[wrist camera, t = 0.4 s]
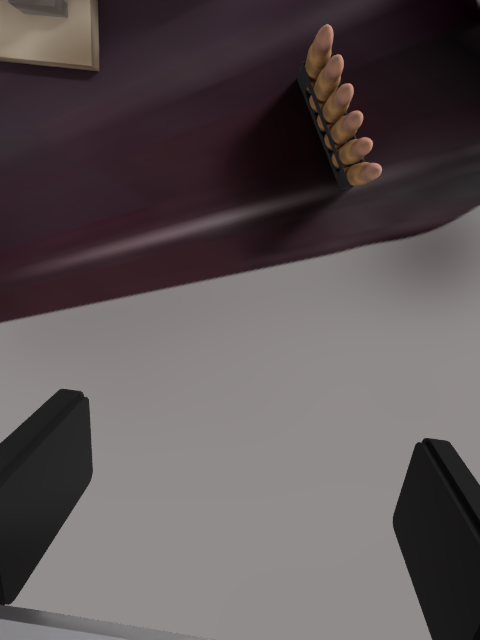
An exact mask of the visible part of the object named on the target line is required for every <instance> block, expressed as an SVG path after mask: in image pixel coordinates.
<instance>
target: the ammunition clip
mask: <svg viewBox="0 0 480 640" xmlns="http://www.w3.org/2000/svg"><path fill="white" fill-rule="evenodd" d="M332 42H333V30H332V27H331V26H330V25H328V24H327V25H324V26H323V27H322V28H321V29H320V30H319V32H318V33H317V35H316V37H315V40H314V42H313V44H312V45H311V47H310V49H309V52H308V56H307V60H306V62H305V61H303V62H302V64H301V67H300V71H299V75H298V79H297V80H298V83H299V86H300V88H301V91H302V93H303V96H304V99H305V101H306V104H307V106H308V109H309V111H310V114H311V117H312V119H313V122H314V124H315V127H316V129H317V132H318V134H319V137H320V140H321V142H322V145H323V147H324V150H325V152H326V155H327V157H328V160H329V163H330V165H331V168H332V170H333V173H334V175H335V178H336V180H337V183H338V186H339V188H340V190H341V191H342V190H345V189H348V188H351V187H353V186H356V185H364V184H367V183H369V182H370V181H372V180H374V179H376V178H377V177H379V176H380V174H381V172H382V168H381V166H380V165H379V164H377V163H368V162H365V161H364V158H363V157H364V156H365V155H366V154H368V153H369V152H370V150H371V149H372V146H373V142H372V140H371V139H369V138H360V139H356V136H355V133H356V132H357V129H358V128H359V127H360V125H361V124H362V121H363V114H362V113H361V112H360V111H353V112H351V113H349V114H347V109H348V107H349V103H350V101H351V99H352V96H353V86H352V85H351V84H344V85H342V86H341V87H339V88H338V85H339V83H340V76H341V73H342V70H343V66H344V63H343V58H342V56H341V55H335V56H333V57H332V58H331V59H330V57H331V47H332ZM305 63H306V64H305ZM304 65H305V66H304ZM342 116H343V117H342ZM350 138H352V140H351V141H349V142H348V143H347V141H348V140H349V139H350ZM358 161H360V163H359V164H355V163H356V162H358Z"/></svg>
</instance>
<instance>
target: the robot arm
mask: <svg viewBox="0 0 480 640" xmlns="http://www.w3.org/2000/svg"><path fill="white" fill-rule="evenodd" d="M92 472H93V467H92V449H91V429H90V411H89V399H88V398H87V397H84V394H83V393H82V392H81V391H75V390H68V389H60V390H59V391H57V392H56V393H55V394H54V395H53V396H52V397H51V398H50V399H49V400H48V401H46V402H45V403H44V404H43V405H42V406H41V407H40V408H39V409H38V410H37V411H36V412H34V413H33V414H32V415H31V416H30V417H29V418H28V419H27V420H26V421H25V422H23V423H22V424H21V425H20V426H19V427H18V428H17V429H16V430H15V431H14V432H13V433H12V434H10V435H9V436H8V437H7V438H6V439H5V440H4V441H3V442H1V443H0V640H213V639H208V638H201V637H196V636H190V635H184V634H178V633H172V632H166V631H160V630H155V629H149V628H142V627H136V626H130V625H124V624H118V623H112V622H106V621H100V620H94V619H88V618H82V617H76V616H70V615H64V614H58V613H52V612H46V611H39V610H33V609H26V608H18V607H12V606H5V604H8V605H9V604H11V603H12V602H13V601H14V600H15V598H16V597H17V596H18V594H19V592H20V591H21V589H22V588H23V586H24V585H25V583H26V582H27V580H28V578H29V577H30V575H31V574H32V572H33V570H34V569H35V567H36V566H37V564H38V563H39V561H40V560H41V558H42V557H43V555H44V553H45V552H46V550H47V549H48V547H49V546H50V544H51V543H52V541H53V539H54V538H55V536H56V535H57V533H58V532H59V530H60V528H61V527H62V525H63V524H64V522H65V521H66V519H67V518H68V516H69V514H70V513H71V511H72V510H73V508H74V507H75V505H76V503H77V502H78V500H79V499H80V497H81V496H82V494H83V493H84V491H85V490H86V488H87V486H88V485H89V483H90V481H91V478H92ZM393 527H394V531H395V534H396V537H397V540H398V543H399V546H400V549H401V551H402V554H403V557H404V560H405V563H406V566H407V569H408V572H409V574H410V577H411V580H412V583H413V586H414V589H415V592H416V594H417V597H418V600H419V603H420V606H421V609H422V612H423V614H424V617H425V620H426V623H427V626H428V629H429V632H430V634H431V637H432V640H480V485H479V484H478V482H477V481H476V479H475V478H474V476H473V475H472V474H471V472H470V471H469V469H468V468H467V466H466V465H465V463H464V462H463V461H462V459H461V458H460V456H459V455H458V454H457V452H456V450H455V449H454V448H453V446H452V445H451V443H450V442H448V441H445V440H437V439H429V438H425V439H424V440H423V441H422V443H420V442H418V443H417V444H416V445H415V448H414V451H413V454H412V457H411V460H410V464H409V467H408V470H407V473H406V477H405V480H404V483H403V486H402V489H401V493H400V496H399V499H398V502H397V505H396V509H395V512H394V516H393Z"/></svg>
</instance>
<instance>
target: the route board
mask: <svg viewBox="0 0 480 640" xmlns="http://www.w3.org/2000/svg"><path fill="white" fill-rule="evenodd" d="M0 61H3V62H13V63H23V64H33V65H43V66H52V67H62V68H72V69H82V70H92V71H99V26H98V0H0Z"/></svg>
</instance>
